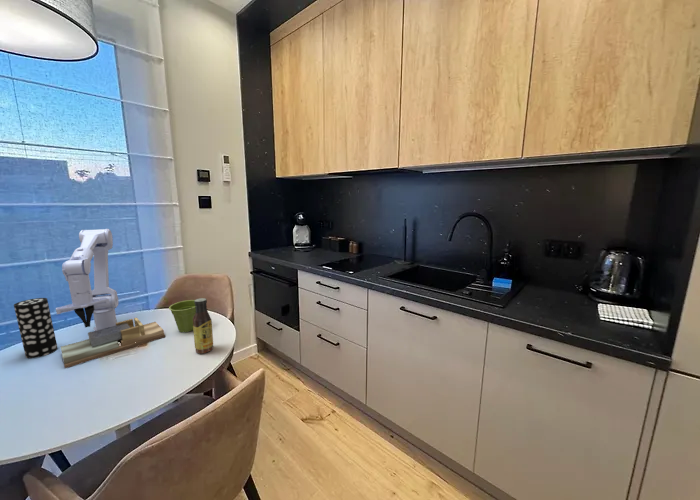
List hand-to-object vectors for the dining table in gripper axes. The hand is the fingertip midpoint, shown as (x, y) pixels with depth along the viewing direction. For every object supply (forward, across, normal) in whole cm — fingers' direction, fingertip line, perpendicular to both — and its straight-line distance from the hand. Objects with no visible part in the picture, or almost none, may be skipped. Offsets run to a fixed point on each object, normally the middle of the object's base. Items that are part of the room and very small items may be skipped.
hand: (87, 326), depth 110 cm
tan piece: (+9, +7, -3) cm, 12 cm away
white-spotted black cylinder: (+10, -13, +11) cm, 20 cm away
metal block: (+6, +6, -3) cm, 9 cm away
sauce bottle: (+10, +29, -33) cm, 45 cm away
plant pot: (+10, +31, -9) cm, 34 cm away
